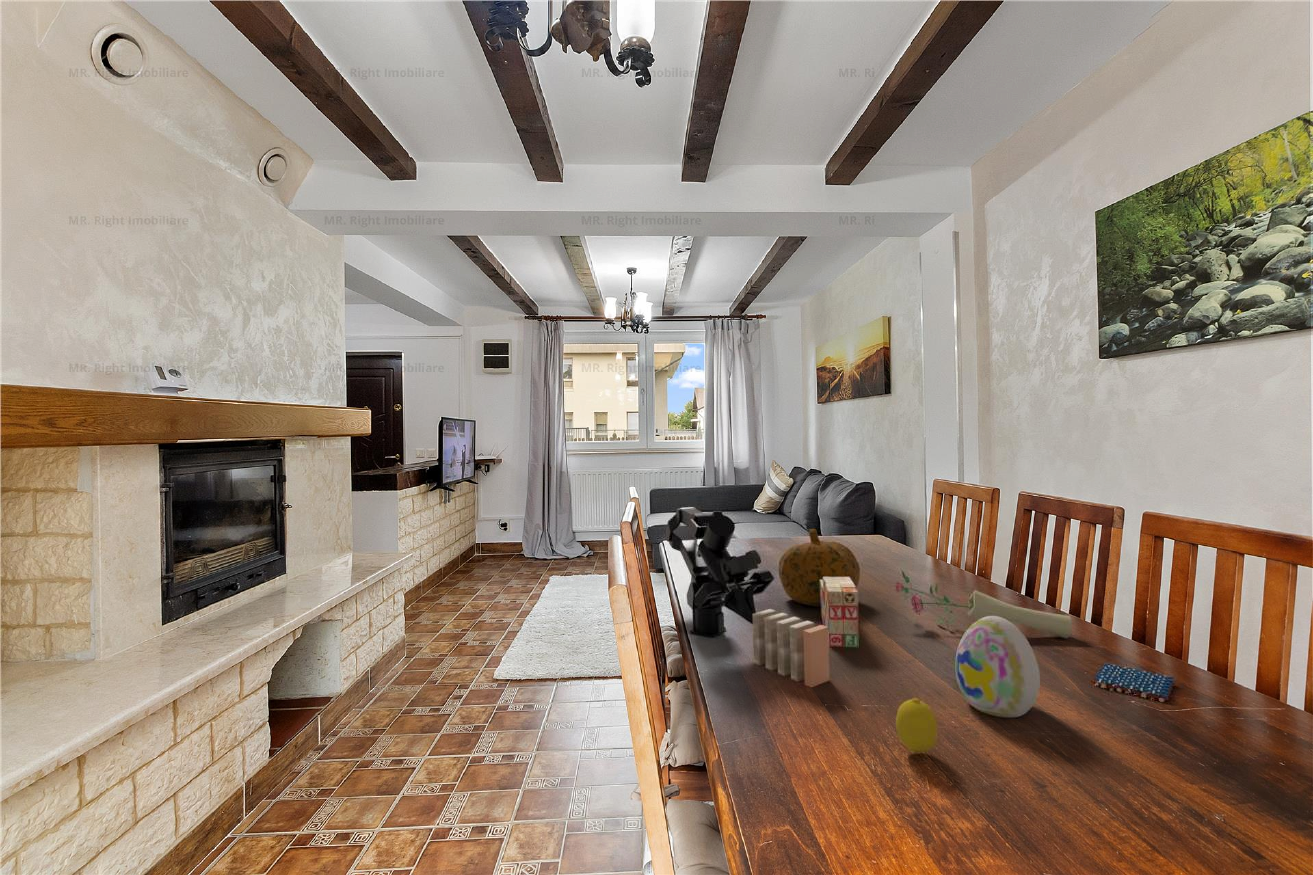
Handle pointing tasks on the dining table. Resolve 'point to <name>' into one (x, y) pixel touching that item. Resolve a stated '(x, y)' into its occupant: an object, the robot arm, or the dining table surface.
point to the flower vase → (998, 611)
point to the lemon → (916, 725)
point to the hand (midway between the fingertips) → (755, 623)
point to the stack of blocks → (840, 611)
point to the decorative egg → (997, 668)
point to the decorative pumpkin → (815, 568)
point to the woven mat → (1134, 682)
